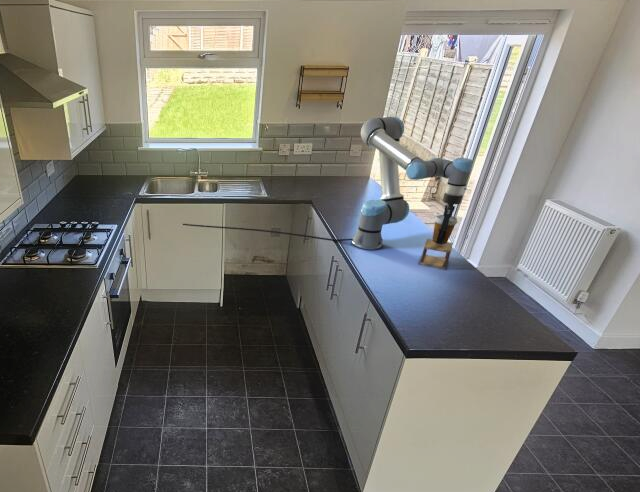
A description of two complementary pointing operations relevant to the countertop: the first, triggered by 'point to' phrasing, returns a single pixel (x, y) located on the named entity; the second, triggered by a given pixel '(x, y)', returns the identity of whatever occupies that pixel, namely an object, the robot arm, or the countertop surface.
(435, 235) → the disposable coffee cup
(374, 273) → the countertop surface
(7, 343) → the countertop surface
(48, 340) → the countertop surface
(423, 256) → the oak rack
